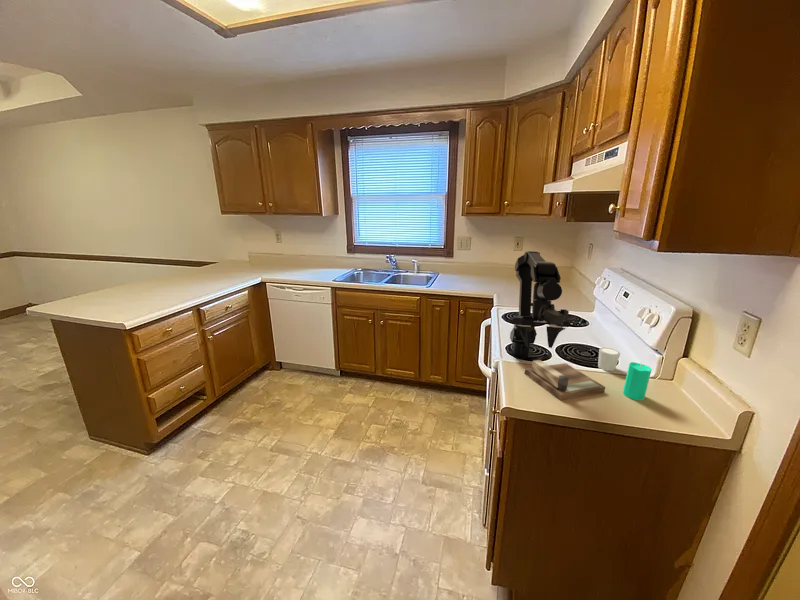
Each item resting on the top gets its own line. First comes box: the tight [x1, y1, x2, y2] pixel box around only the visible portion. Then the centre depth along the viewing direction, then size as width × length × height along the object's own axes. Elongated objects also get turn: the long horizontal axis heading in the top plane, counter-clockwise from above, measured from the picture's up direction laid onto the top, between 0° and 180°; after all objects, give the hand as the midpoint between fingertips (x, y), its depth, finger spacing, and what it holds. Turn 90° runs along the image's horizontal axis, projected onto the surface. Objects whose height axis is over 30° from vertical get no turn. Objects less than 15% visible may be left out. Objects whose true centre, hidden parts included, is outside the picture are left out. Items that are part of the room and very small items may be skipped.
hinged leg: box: [530, 359, 569, 390], centre depth 118 cm, size 15×3×4 cm, turn 17°
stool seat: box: [524, 362, 606, 401], centre depth 121 cm, size 18×18×2 cm
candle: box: [622, 361, 652, 401], centre depth 113 cm, size 6×6×12 cm
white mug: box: [597, 347, 621, 372], centre depth 132 cm, size 7×7×7 cm
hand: (539, 347), depth 115 cm, fingers open, 9 cm apart
